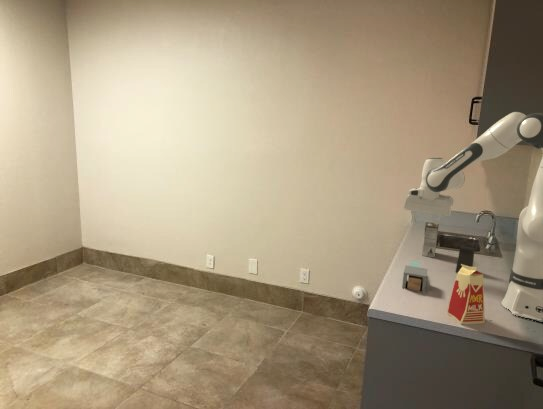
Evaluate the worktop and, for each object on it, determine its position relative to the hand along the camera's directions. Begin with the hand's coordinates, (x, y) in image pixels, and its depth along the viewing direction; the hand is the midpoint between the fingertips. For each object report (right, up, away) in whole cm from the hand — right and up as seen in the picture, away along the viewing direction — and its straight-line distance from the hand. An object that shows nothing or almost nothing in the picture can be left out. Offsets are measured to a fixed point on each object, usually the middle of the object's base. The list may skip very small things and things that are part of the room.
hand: (424, 222), depth 182 cm
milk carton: (-2, -32, -42) cm, 53 cm away
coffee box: (+11, -18, +24) cm, 33 cm away
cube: (-12, -26, -18) cm, 34 cm away
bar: (-7, -24, -6) cm, 26 cm away
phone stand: (+19, -23, +2) cm, 30 cm away
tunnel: (-11, -26, -17) cm, 33 cm away
